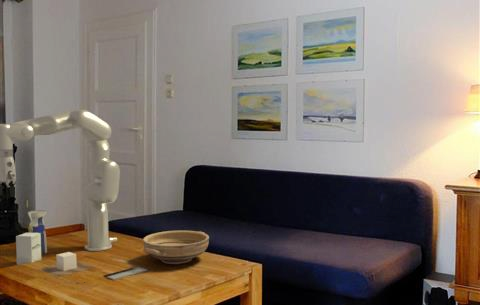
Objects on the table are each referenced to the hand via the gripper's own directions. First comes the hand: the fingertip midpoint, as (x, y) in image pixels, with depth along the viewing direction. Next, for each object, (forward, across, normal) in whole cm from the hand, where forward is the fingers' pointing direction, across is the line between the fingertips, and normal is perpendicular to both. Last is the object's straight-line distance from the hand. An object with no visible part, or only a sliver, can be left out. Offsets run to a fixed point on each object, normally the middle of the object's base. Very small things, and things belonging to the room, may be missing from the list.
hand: (4, 195), depth 208 cm
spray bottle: (+31, +14, -22) cm, 40 cm away
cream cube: (+29, -24, -12) cm, 39 cm away
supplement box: (+31, +1, -10) cm, 32 cm away
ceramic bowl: (+31, -48, -50) cm, 76 cm away
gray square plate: (+30, -41, -25) cm, 57 cm away
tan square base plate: (+31, -24, -12) cm, 40 cm away
